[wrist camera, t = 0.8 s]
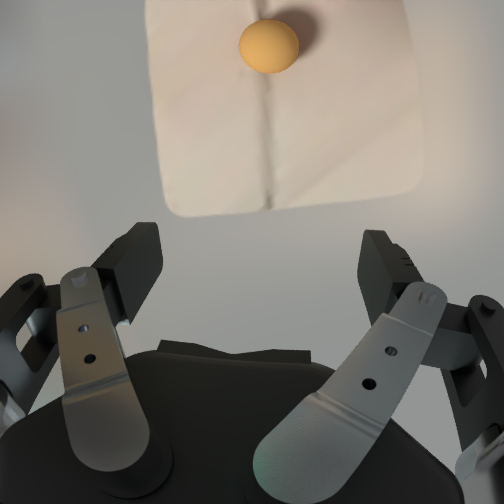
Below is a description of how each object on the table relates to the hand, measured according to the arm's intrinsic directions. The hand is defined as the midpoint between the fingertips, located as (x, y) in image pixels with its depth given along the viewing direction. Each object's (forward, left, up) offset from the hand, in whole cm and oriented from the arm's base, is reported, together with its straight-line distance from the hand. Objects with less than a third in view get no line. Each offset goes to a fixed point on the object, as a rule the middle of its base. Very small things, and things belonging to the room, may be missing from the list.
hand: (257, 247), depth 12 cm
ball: (-9, 0, -17) cm, 20 cm away
